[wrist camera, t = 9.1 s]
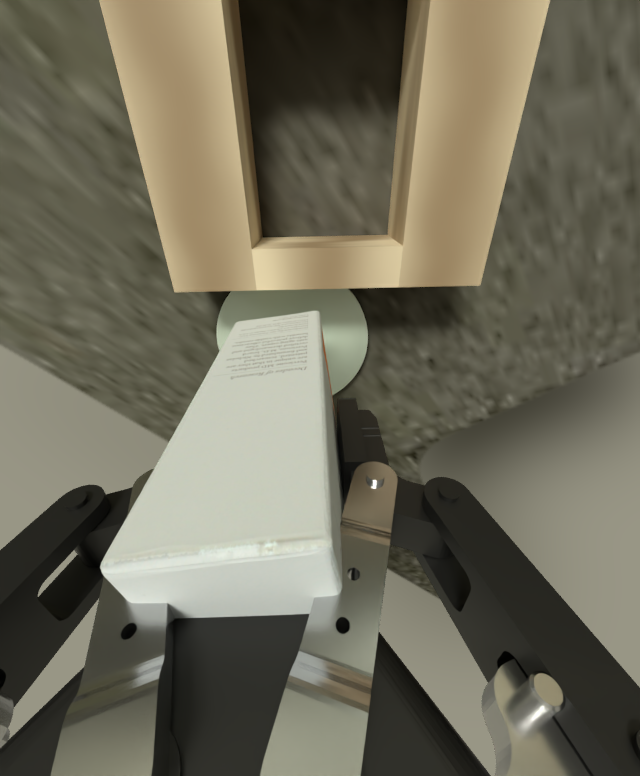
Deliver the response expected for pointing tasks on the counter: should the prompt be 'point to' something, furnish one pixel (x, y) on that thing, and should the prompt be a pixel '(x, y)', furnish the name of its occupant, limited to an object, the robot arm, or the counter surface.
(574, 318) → the counter surface
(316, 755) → the robot arm
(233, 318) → the coaster
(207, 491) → the skincare box
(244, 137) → the pocket block
